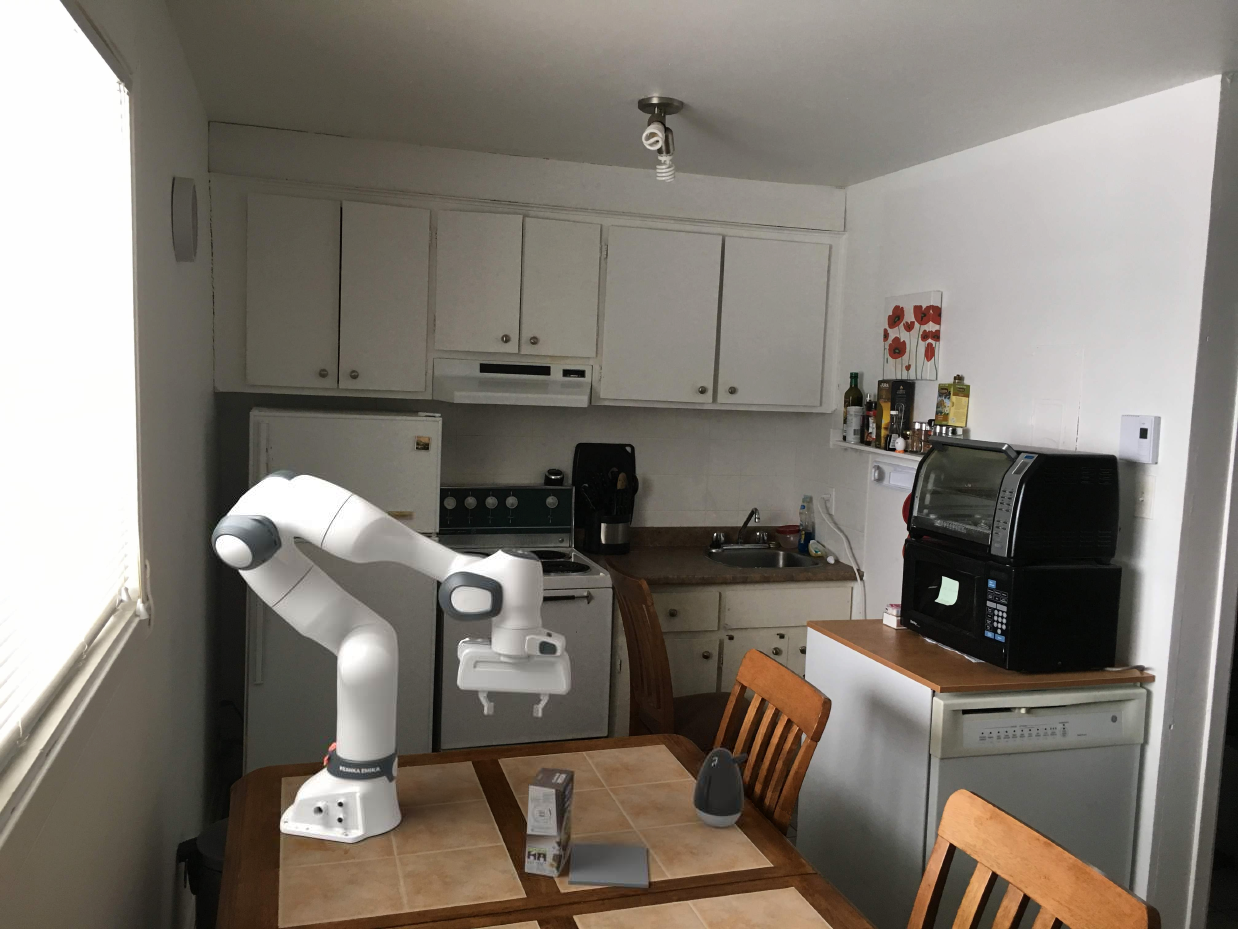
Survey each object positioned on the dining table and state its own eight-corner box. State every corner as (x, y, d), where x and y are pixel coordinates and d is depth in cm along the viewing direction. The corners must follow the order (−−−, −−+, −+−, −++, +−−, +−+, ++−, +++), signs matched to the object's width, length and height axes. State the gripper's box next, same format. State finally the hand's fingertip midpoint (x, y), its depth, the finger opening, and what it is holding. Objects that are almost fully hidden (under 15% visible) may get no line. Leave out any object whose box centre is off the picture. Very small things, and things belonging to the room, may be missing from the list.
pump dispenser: (746, 834, 189) (751, 760, 188) (694, 832, 189) (698, 757, 187) (740, 811, 199) (744, 740, 198) (690, 809, 199) (694, 738, 198)
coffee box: (558, 878, 169) (562, 789, 167) (523, 872, 170) (527, 785, 169) (571, 854, 178) (575, 769, 176) (538, 849, 179) (542, 765, 178)
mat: (568, 884, 167) (568, 880, 167) (572, 845, 181) (572, 842, 181) (648, 888, 167) (648, 884, 167) (645, 849, 181) (646, 846, 181)
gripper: (454, 641, 167) (452, 718, 168) (571, 647, 167) (568, 723, 168) (460, 632, 173) (458, 706, 175) (573, 637, 174) (570, 711, 175)
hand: (513, 715), depth 171 cm, fingers open, 7 cm apart
